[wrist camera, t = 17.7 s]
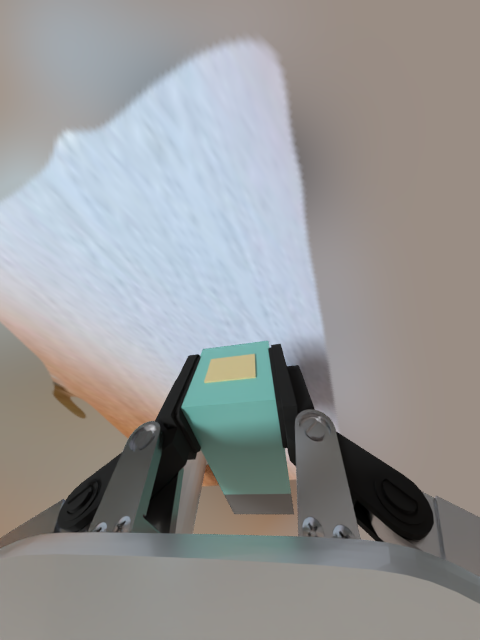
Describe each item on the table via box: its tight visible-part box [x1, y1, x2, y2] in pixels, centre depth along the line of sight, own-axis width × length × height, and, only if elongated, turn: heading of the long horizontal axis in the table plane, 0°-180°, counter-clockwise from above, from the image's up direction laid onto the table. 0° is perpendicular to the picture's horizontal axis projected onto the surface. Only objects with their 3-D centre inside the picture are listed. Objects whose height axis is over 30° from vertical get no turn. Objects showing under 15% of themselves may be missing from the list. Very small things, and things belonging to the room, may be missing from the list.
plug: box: [181, 341, 294, 514], centre depth 11 cm, size 11×4×4 cm, turn 11°
